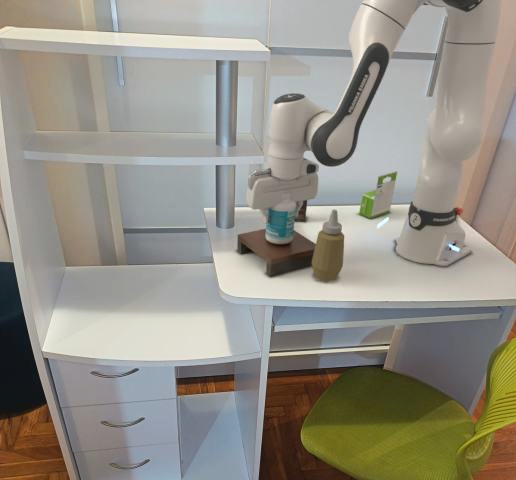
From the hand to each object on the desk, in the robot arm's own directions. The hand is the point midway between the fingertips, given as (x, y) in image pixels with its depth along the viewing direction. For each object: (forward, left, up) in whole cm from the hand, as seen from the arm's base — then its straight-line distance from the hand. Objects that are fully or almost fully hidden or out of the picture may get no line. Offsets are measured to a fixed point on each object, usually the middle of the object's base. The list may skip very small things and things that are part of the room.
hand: (280, 219), depth 134 cm
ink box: (-48, -13, -11) cm, 51 cm away
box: (-21, -20, -11) cm, 31 cm away
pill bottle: (0, 0, -6) cm, 6 cm away
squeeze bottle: (-5, +15, -11) cm, 19 cm away
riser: (0, 0, -11) cm, 11 cm away
